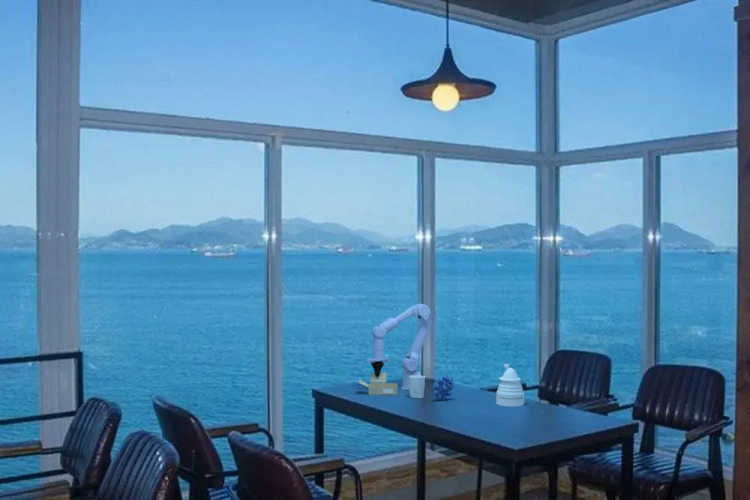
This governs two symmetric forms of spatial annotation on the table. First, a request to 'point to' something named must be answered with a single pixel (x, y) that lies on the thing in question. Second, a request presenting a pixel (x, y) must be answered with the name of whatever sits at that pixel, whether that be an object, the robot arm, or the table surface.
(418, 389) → the white cup
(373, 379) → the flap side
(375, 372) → the robot arm
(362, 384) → the flap far
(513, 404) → the honey pot
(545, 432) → the table surface
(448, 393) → the grapes
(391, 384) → the carton
